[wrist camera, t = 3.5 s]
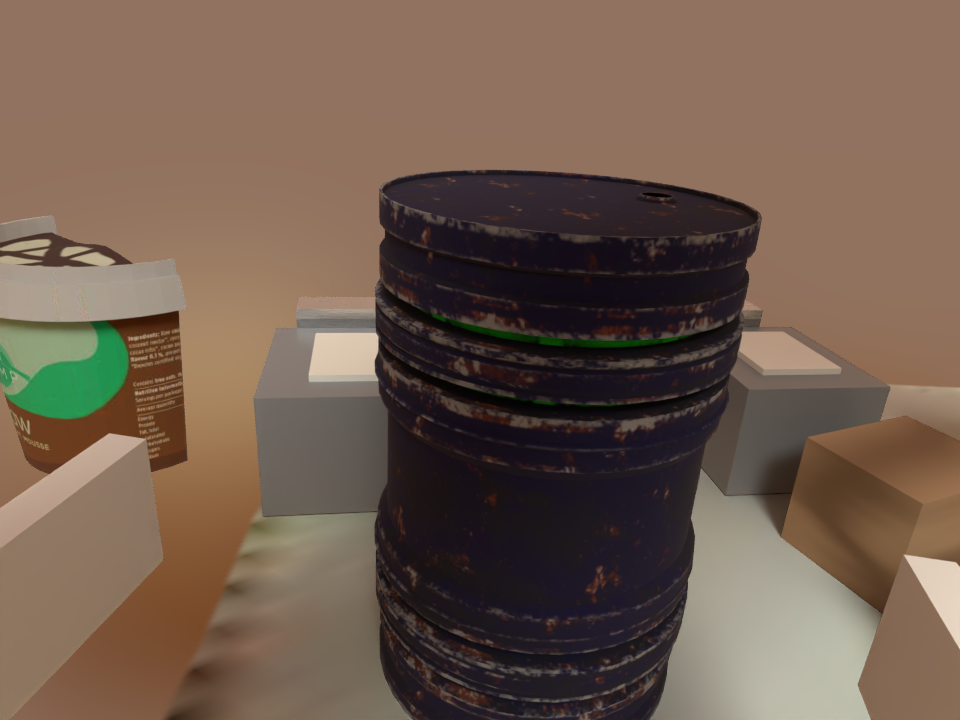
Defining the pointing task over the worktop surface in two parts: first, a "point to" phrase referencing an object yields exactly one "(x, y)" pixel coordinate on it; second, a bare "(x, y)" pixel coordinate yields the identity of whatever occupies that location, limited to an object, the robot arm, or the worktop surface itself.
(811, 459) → the walnut block
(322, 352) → the block
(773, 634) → the worktop surface
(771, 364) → the module block
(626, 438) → the rusty oil drum
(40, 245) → the food container
